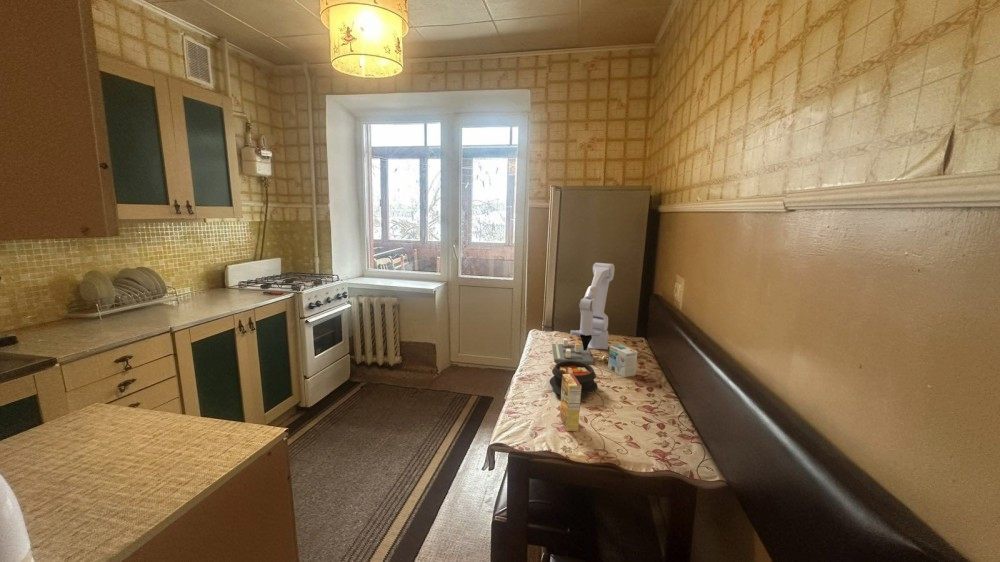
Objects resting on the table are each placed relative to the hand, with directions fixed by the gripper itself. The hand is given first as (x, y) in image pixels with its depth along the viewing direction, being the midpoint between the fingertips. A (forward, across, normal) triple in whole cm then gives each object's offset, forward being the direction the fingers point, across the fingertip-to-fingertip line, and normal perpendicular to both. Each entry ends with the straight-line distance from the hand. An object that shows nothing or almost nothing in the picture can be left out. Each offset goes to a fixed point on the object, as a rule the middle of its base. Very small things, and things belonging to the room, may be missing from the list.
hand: (584, 349), depth 183 cm
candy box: (+3, -14, -64) cm, 65 cm away
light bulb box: (+3, +14, -18) cm, 23 cm away
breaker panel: (+3, -6, 0) cm, 7 cm away
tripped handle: (+1, -4, 0) cm, 4 cm away
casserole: (+3, -9, -37) cm, 38 cm away
